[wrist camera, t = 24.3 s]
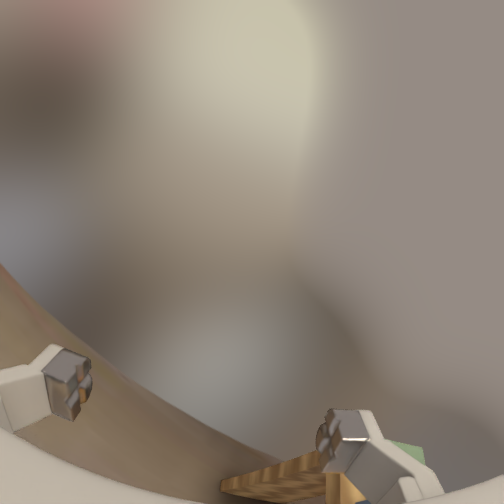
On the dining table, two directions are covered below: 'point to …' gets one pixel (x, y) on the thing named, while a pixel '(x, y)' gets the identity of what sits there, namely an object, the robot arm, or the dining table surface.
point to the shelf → (294, 483)
